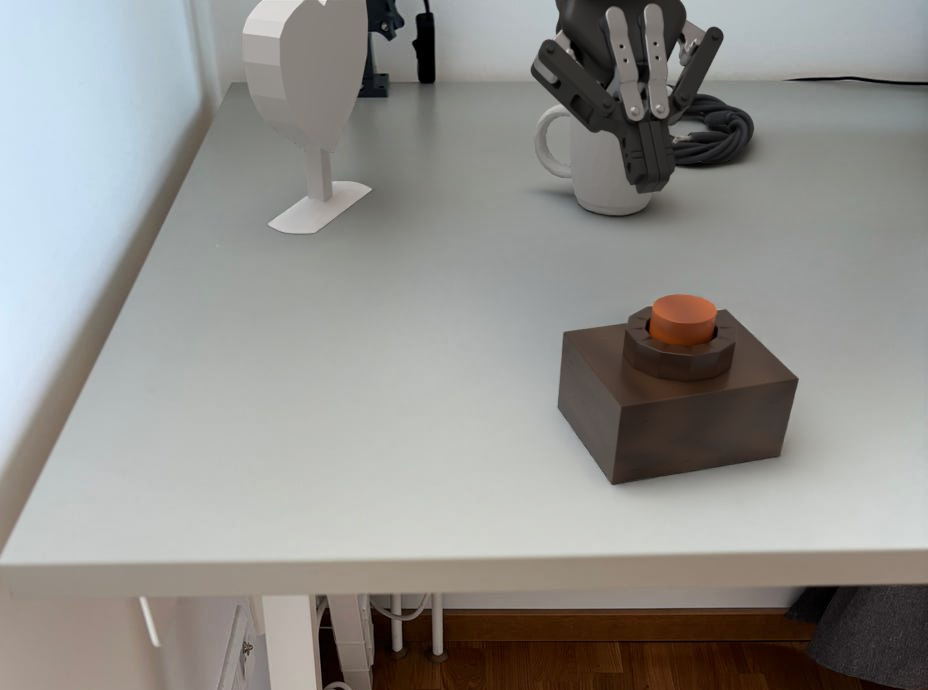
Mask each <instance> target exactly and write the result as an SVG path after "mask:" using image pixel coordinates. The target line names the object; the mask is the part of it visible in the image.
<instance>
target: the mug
mask: <svg viewBox="0 0 928 690" xmlns="http://www.w3.org/2000/svg"><path fill="white" fill-rule="evenodd" d="M666 87H667V94H668V96H670V94H671V92H672V88H671V87H669V86H667V85H666ZM560 117H569V138H568V139H569V143H568V146H569V162H570V164H569V165H567V164H564V163H562V162H560V161H559V160H557V159H556V158H555V156H554V155H553V154H552V153H551V152H550V149H549V147H548V143H547V132H548V129H549V126H550V125H551V123H552V122H553V121H554V120H555V119H558V118H560ZM668 128H669V133H670V134H671V128H672V126H668ZM533 135H534V136H533V146H534V151H535V155H536V157H537V159H538V162H539V163H540V164H541V166H542V167H543V168H544V169H545V170H547V171H548V172H549V173H550V174H551V175H553V176H555V177H558V178H562V179H571V182H572V189H573V193H574V196H575V197H576V200H577V203H578V204H579V206H581V207H582V208H584V210H587V211H590V212H593V213H595V214H599V215H600V214H601V215H606V216H627V215H628V216H629V215H631V214H635V213H638V212H640V211H641V210H643V209H644V208H645V207H646V206H648V204H649V202H650V199H651V198H652V197H653V196H654V193H655V192H651V193H643V194H638V193H637V191H636V187H635V185H630V183H629V182H628V180H627V179H626V174H625V169H624V163H623V160H622V155H621V150H620V145H619V141H618V139H617V138H616V136H615V135H614V134H612V133H610V132H606V131H602V130H601V131H600V132H598V133H592V132H590V131H589V130H588V129H587V128H586V127H585V126H584V125H583V124H582V123H580V122H579V121H578V120H577V119H576V118H575V117H574V116H573V115H572V114H571V113H570V112H569V111H568V110H567V109H566V108H565V107H564V106H563V105H562V104H561V103H559V104H555V105H553V106H552V107H550V108H549V109H547V110H546V111H545V112H543V114H542V115H541V116H540V118H539V119H538V121H537V123H536V126H535V130H534V134H533Z"/></svg>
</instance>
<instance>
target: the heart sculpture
mask: <svg viewBox="0 0 928 690" xmlns="http://www.w3.org/2000/svg"><path fill="white" fill-rule="evenodd" d="M368 31H369V18H368V9H367V0H261V1H259V3H258V4H257V5H256V6H255V7H254V8H253V9H252V11H251V12H250V14H248V17H246V20H245V23H244V26H243V29H242V32H241V43H242V44H241V45H242V47H241V49H242V64H243V69H244V75H245V78H246V82H247V83H246V84H247V88H248V92H249V95H250V97H251V100H252V101H253V104H254V106H255V108H256V110H257V111H258V113H259V116H260V117H261V119H262V120H263V122H264V123H266V124H267V125H268V126H269V127H270V128H271V129H272V130H273V131H274V132H275V133H276V134H278V135H280V136H282V137H283V138H285V139H287V140H289V141H291V142H292V143H293V144H295V145H296V146H297V147H299V148H301V149H303V150H304V162H305V171H306V172H305V175H306V186H307V195H306V196H304V197H303V198H301V199H300V200H298V201H297V202H296V203H295V204H293V205H292V206H290V207H289V208H287V209H285V210H284V211H282V213H280V214H279V215H278V216H276V217H275V218H273V219H272V220H270V221H269V222H268V223H267V225H268V226H269V227H271V228H272V229H273V230H276V231H279V232H282V233H284V234H299V235H300V234H303V235H304V234H316V233H317V232H319V231H320V230H321V229H322V228H324V227H325V226H326V225H327V224H329V223H330V222H332V221H333V220H334V219H336V218H337V217H338V216H339V215H341V214H342V213H343V212H345V211H347V209H349V208H350V207H352V206H353V205H354V204H355V203H357V202H358V201H360V199H362V198H363V197H365V196H366V195H367V194H368V193H370V192H371V191H373V188H371V187H369V186H367V185H365V184H362V183H360V182H356V181H348V180H332V179H333V178H332V166H331V154H334V153H335V151H336V149H337V146H338V144H339V141H340V139H341V137H342V134H343V133H344V130H345V128H346V126H347V123H348V122H349V120H350V117H351V115H352V113H353V109H354V107H355V104H356V101H357V99H358V96H359V93H360V90H361V88H362V83H363V77H364V73H365V72H364V71H365V67H366V62H367V56H368V37H369V36H368V35H369V32H368Z"/></svg>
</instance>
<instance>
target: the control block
mask: <svg viewBox="0 0 928 690" xmlns="http://www.w3.org/2000/svg"><path fill="white" fill-rule="evenodd" d="M652 306H653V305H649V306H645V307H643V308H641V309H639V310H637V311H636V312H634V313H632V314H631V315H629V316H628V319H627V322H623V323H617V324H610V325H609V324H608V325H601V326H595V327H588V328H587V327H586V328H580V329H573V330H566V331H563V333H562V345H561V358H560V369H559V380H558V381H559V383H558V396H557V408H558V409H559V411H560V412H561V414H562V415H563V416H564V418H565V419H566V421H567V422H568V424H569V425H570V426H571V428H572V429H573V431H574V432H575V434H576V435H577V436H578V438H579V439H580V441H581V442H582V443H583V445H584V446H585V448H586V449H587V451H588V452H589V454H590V455H591V456H592V458H593V459H594V461H595V462H596V463H597V465H598V467H599V468H600V469H601V471H602V472H603V474H604V475H605V477H606V478H607V479H608V481H609V482H610V484H611V485H617V484H622V483H623V484H624V483H627V482H635V481H639V480H645V479H651V478H657V477H663V476H669V475H674V474H682V473H687V472H692V471H697V470H698V471H699V470H704V469H710V468H715V467H723V466H727V465H735V464H740V463H744V462H745V463H746V462H752V461H757V460H763V459H768V458H774V457H779V456H781V453H782V450H783V447H784V442H785V439H786V434H787V429H788V427H789V426H788V425H789V423H790V422H789V421H790V418H791V414H792V409H793V405H794V401H795V397H796V393H797V388H798V384H799V381H800V378H799V377H798V376H797V375H796V374H794V372H793V371H792V370H791V369H789V368H788V367H787V366H786V365H785V364H784V362H783V361H781V360H780V359H779V358H778V357H777V356H776V355H775V354H774V353H773V352H772V351H771V350H770V349H768V348H767V347H766V345H765V344H763V343H762V341H760V340H759V339H758V337H756V336H755V335H754V334H753V333H752V332H751V331H750V330H749V329H748V328H747V327H746V326H744V324H742V323H741V322H740V320H738V319H737V318H736V317H735V316H734V315H733V314H732V313H731V312H730V311H729V310H727V308H724V309H717V315H716V321H715V327H714V332H713V337H712V340H711V341H710V342H708V343H707V344H700V345H693V346H682V345H673V344H667V343H665V342H662V341H660V340H657V339H655V338H652V337H651V335H650V333H649V328H650V321H651V314H652Z"/></svg>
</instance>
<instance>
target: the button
mask: <svg viewBox="0 0 928 690" xmlns="http://www.w3.org/2000/svg"><path fill="white" fill-rule="evenodd" d="M651 306H652V314H651V321H650V328H649V333H650V335H651V337H652V338H655V339H657V340H660V341H662V342H665V343H667V344H673V345H682V346H693V345H700V344H707V343H708V342H710V341H711V340H712V337H713V332H714V327H715V321H716V315H717V310H718V309H717V307H716V305H715V304H714V303H713V302H711V301H709V300H708V299H706V298H703V297H701V296H698V295H692V294H685V293H682V294H681V293H675V294H674V293H673V294H668V295H664V296H661V297H659V298H657V299H656V300H655V301H654V302H653V304H652V305H651Z"/></svg>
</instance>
